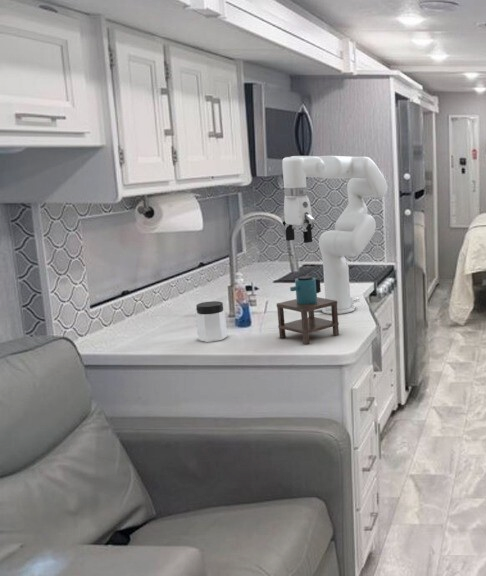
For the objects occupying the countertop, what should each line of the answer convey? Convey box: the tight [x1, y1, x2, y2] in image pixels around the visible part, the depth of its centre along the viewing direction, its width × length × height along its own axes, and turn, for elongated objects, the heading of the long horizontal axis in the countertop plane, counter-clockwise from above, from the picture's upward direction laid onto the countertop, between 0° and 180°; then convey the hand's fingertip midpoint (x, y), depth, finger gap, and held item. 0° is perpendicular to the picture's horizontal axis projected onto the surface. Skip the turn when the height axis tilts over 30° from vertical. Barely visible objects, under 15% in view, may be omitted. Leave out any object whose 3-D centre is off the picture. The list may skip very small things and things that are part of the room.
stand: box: [276, 296, 340, 345], centre depth 226 cm, size 14×14×12 cm
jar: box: [195, 300, 228, 343], centre depth 224 cm, size 9×8×12 cm
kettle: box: [289, 275, 322, 304], centre depth 223 cm, size 11×7×9 cm, turn 145°
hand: (299, 241), depth 237 cm, fingers open, 9 cm apart
